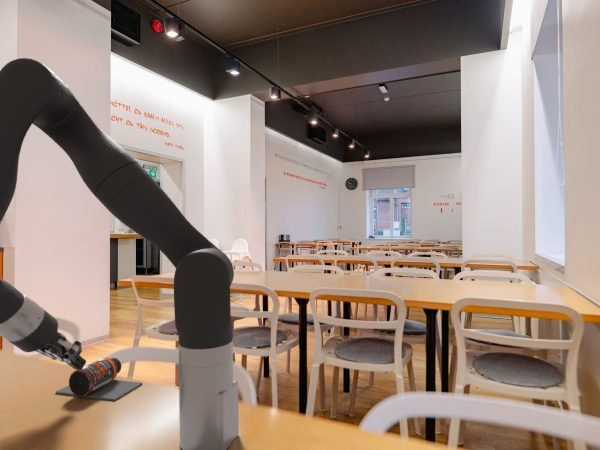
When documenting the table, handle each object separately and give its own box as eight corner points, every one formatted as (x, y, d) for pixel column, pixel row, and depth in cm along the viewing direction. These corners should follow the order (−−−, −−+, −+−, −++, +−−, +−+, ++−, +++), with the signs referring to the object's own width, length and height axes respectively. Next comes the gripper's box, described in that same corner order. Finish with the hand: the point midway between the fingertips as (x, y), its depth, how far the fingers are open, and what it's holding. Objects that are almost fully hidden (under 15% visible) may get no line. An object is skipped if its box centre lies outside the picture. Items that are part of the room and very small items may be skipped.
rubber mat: (142, 384, 93) (142, 382, 93) (114, 401, 84) (114, 399, 84) (87, 378, 97) (87, 376, 97) (55, 393, 88) (55, 391, 88)
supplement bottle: (81, 365, 85) (117, 348, 96) (62, 378, 86) (100, 360, 97) (94, 389, 84) (129, 370, 95) (75, 402, 85) (111, 381, 96)
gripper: (62, 307, 74) (114, 352, 85) (14, 303, 78) (69, 346, 90) (34, 344, 69) (94, 386, 80) (-15, 337, 73) (48, 378, 85)
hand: (81, 365), depth 85 cm, fingers closed
